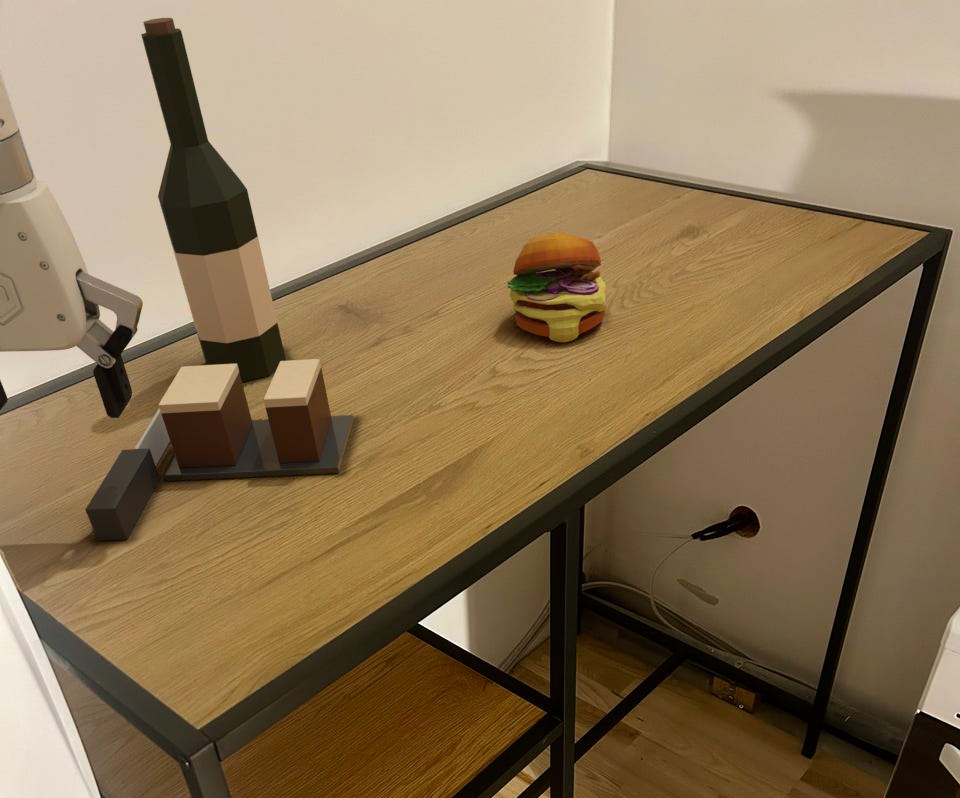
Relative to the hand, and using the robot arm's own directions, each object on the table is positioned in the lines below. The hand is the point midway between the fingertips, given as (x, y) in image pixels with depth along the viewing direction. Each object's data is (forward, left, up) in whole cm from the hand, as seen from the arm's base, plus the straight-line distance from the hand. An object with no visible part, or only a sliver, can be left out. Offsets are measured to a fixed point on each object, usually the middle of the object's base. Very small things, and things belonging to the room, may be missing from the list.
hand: (57, 410), depth 72 cm
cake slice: (+16, +9, -9) cm, 20 cm away
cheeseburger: (+38, +32, -10) cm, 51 cm away
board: (+12, +9, -9) cm, 17 cm away
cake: (+8, +9, -9) cm, 15 cm away
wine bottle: (+6, +26, -10) cm, 29 cm away
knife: (+3, +5, -9) cm, 11 cm away
